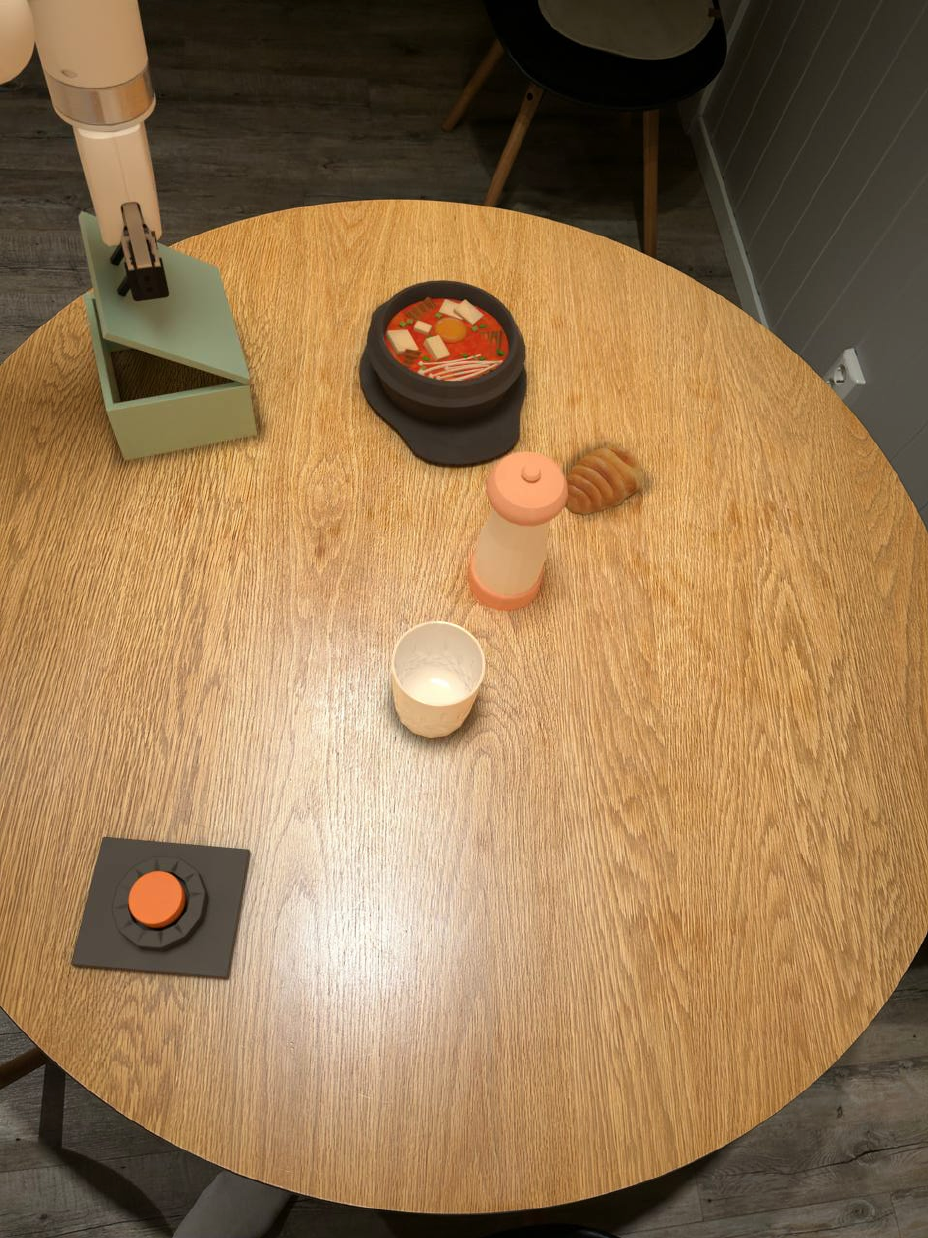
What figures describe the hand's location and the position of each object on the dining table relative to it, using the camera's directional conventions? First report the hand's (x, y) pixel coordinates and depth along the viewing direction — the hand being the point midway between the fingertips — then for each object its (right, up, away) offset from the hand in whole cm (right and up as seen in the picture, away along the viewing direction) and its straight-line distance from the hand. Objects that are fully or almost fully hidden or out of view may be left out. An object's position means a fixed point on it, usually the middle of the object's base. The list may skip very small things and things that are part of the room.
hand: (145, 272), depth 86 cm
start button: (+5, -54, -12) cm, 56 cm away
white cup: (+26, -40, +1) cm, 48 cm away
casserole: (+27, -6, +20) cm, 34 cm away
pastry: (+44, -18, +15) cm, 50 cm away
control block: (+5, -56, -9) cm, 57 cm away
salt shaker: (+33, -28, +8) cm, 44 cm away
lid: (+1, -2, +4) cm, 4 cm away
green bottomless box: (-1, -8, +15) cm, 17 cm away
